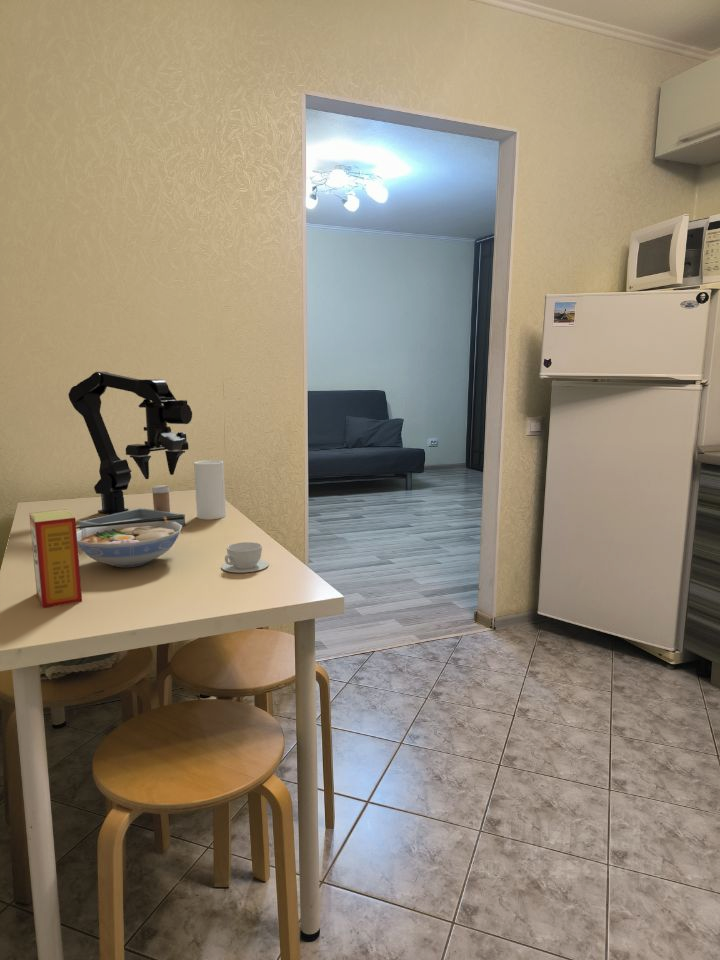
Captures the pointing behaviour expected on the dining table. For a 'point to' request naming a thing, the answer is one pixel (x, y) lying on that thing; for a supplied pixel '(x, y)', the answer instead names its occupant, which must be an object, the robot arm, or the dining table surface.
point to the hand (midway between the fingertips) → (159, 476)
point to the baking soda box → (55, 557)
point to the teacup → (244, 558)
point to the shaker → (161, 498)
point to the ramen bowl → (129, 540)
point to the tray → (131, 517)
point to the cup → (210, 489)
